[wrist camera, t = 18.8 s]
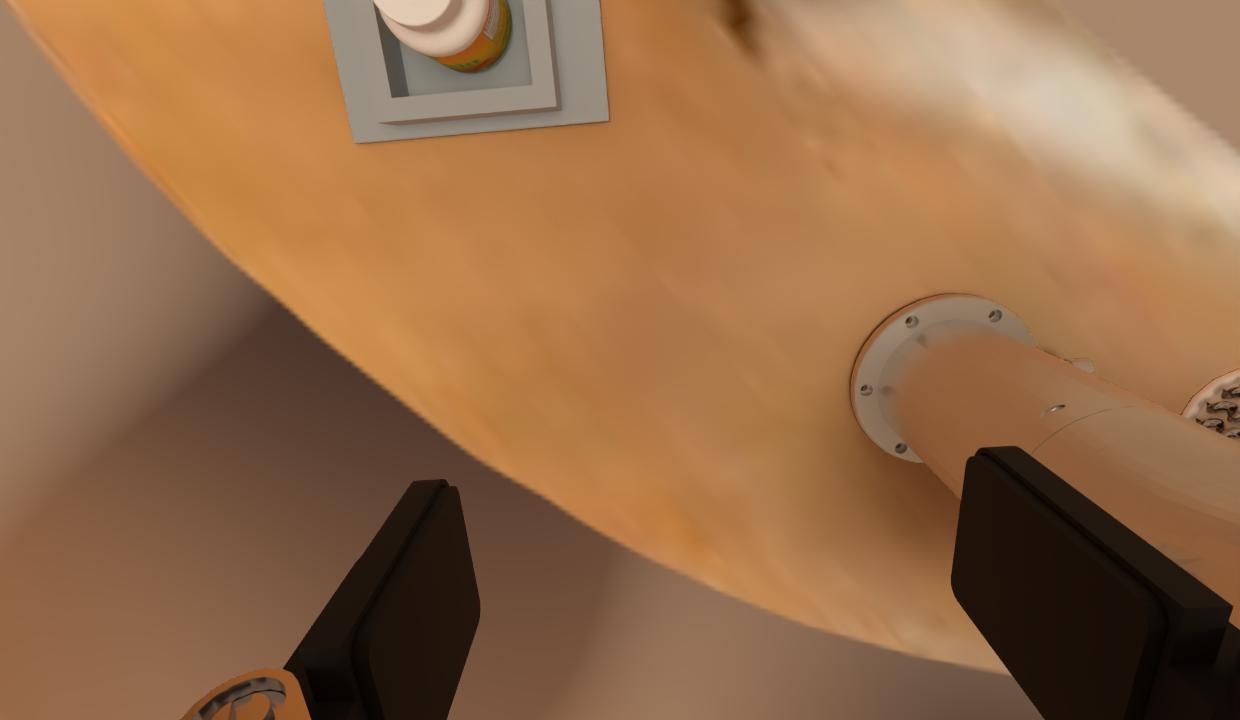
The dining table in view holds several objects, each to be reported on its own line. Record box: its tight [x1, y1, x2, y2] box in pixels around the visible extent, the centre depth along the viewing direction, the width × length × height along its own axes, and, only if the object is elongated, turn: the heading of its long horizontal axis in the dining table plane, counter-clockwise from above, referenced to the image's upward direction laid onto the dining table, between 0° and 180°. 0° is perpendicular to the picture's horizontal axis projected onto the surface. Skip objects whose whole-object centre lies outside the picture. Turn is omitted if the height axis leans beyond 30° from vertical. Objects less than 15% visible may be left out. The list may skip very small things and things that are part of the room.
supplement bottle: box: [373, 0, 513, 74], centre depth 29 cm, size 5×5×10 cm
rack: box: [323, 0, 609, 144], centre depth 33 cm, size 16×12×4 cm
